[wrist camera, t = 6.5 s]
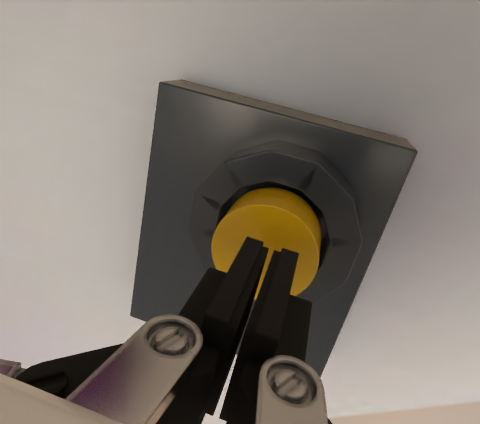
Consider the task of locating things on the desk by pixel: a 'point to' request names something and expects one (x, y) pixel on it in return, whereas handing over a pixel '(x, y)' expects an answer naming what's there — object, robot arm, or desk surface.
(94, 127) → the desk surface
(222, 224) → the button
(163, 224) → the console
